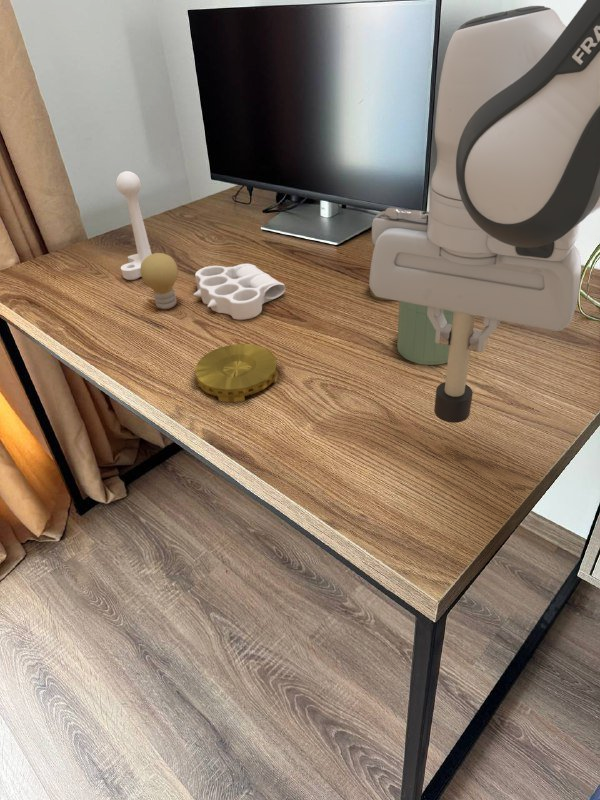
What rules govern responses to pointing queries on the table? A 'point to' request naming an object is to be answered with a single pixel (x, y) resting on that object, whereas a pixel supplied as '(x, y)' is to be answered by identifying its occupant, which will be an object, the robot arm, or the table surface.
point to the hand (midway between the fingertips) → (460, 345)
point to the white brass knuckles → (237, 289)
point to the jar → (420, 335)
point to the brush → (456, 373)
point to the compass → (236, 371)
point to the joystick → (134, 224)
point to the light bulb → (160, 278)
